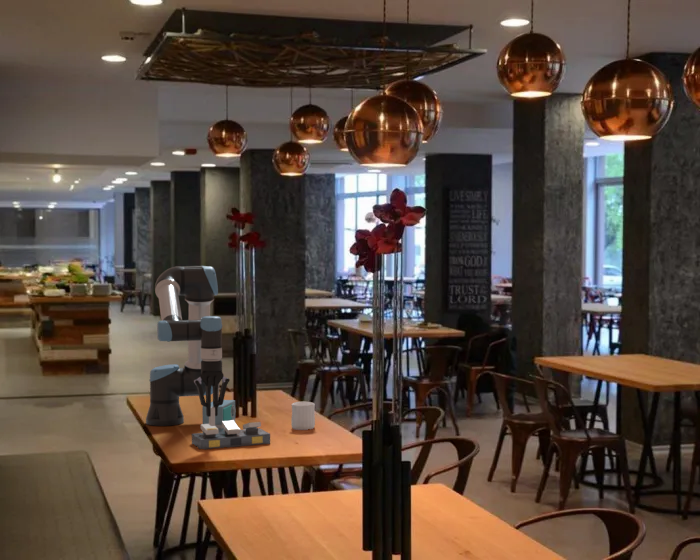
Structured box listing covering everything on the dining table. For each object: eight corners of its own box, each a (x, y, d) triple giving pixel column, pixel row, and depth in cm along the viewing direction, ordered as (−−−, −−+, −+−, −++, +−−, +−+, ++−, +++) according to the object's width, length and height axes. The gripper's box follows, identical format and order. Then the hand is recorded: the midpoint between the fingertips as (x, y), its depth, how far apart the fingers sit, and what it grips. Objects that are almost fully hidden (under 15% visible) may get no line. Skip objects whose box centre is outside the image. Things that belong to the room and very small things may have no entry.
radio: (225, 438, 377) (224, 385, 377) (202, 437, 379) (201, 384, 378) (238, 430, 393) (237, 379, 392) (216, 429, 395) (215, 379, 394)
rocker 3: (243, 429, 373) (242, 424, 373) (254, 428, 374) (254, 423, 375) (249, 427, 365) (249, 422, 366) (261, 426, 367) (260, 421, 367)
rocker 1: (200, 428, 366) (200, 423, 366) (212, 427, 368) (212, 422, 368) (206, 434, 359) (206, 429, 359) (218, 433, 361) (218, 429, 361)
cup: (296, 431, 391) (296, 406, 391) (287, 426, 400) (287, 402, 400) (318, 429, 395) (318, 404, 395) (309, 425, 404) (309, 400, 404)
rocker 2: (221, 425, 370) (222, 420, 369) (233, 424, 371) (233, 419, 371) (228, 434, 363) (228, 429, 362) (239, 433, 364) (240, 429, 364)
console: (191, 443, 367) (191, 430, 367) (259, 437, 378) (259, 424, 378) (200, 449, 356) (200, 436, 356) (270, 443, 367) (270, 430, 366)
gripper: (196, 361, 353) (197, 428, 355) (232, 359, 359) (232, 425, 360) (190, 359, 360) (191, 424, 361) (226, 357, 365) (226, 422, 367)
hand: (212, 425), depth 361 cm, fingers closed
